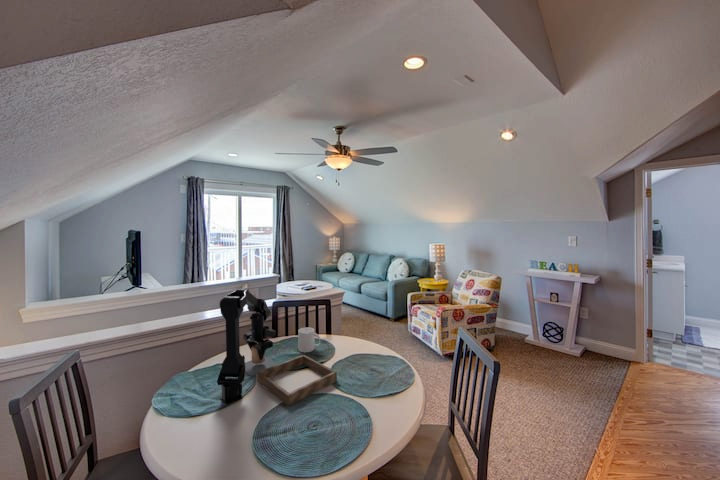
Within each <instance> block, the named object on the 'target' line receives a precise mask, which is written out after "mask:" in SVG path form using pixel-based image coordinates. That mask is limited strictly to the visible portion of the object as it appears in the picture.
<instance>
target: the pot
mask: <svg viewBox="0 0 720 480" xmlns="http://www.w3.org/2000/svg"><path fill="white" fill-rule="evenodd" d="M256 347H257V344H256V345H253V346H252V347H251V348H252V351H251V360H252V363H254V364H259V363H262V362H264V361H265V356H266V352H265V353H264V357H263V359H262V360H260V358H259V356H258V353H257V350H256Z"/></svg>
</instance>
